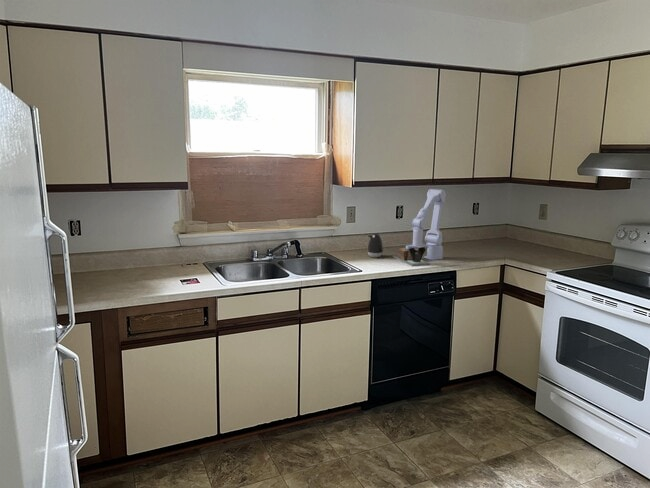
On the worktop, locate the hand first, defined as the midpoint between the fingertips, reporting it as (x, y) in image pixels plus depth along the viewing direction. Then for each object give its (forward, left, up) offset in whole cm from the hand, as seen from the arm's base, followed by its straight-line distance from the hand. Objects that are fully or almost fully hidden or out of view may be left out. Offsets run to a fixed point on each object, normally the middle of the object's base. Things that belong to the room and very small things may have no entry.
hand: (416, 259), depth 301 cm
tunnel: (0, -10, -2) cm, 10 cm away
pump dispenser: (+17, -24, -2) cm, 29 cm away
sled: (0, -6, -1) cm, 6 cm away
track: (0, -7, -2) cm, 7 cm away
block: (0, -10, 0) cm, 10 cm away
